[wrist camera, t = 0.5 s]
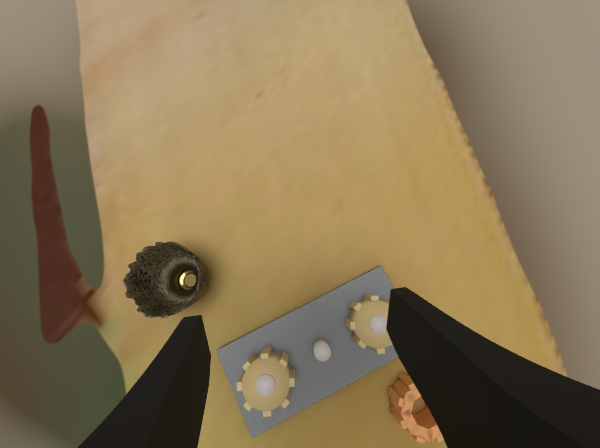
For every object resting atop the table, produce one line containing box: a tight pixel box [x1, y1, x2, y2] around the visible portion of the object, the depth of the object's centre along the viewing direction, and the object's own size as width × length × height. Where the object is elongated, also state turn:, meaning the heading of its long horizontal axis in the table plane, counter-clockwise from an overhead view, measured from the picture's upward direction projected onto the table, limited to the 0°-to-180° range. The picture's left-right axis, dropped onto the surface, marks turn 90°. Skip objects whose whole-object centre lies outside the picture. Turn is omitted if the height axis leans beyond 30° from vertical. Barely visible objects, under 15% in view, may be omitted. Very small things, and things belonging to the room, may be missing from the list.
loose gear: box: [388, 372, 444, 444], centre depth 32 cm, size 6×6×4 cm
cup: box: [123, 242, 208, 318], centre depth 33 cm, size 8×7×8 cm
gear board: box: [217, 266, 398, 438], centre depth 33 cm, size 10×22×5 cm, turn 117°
